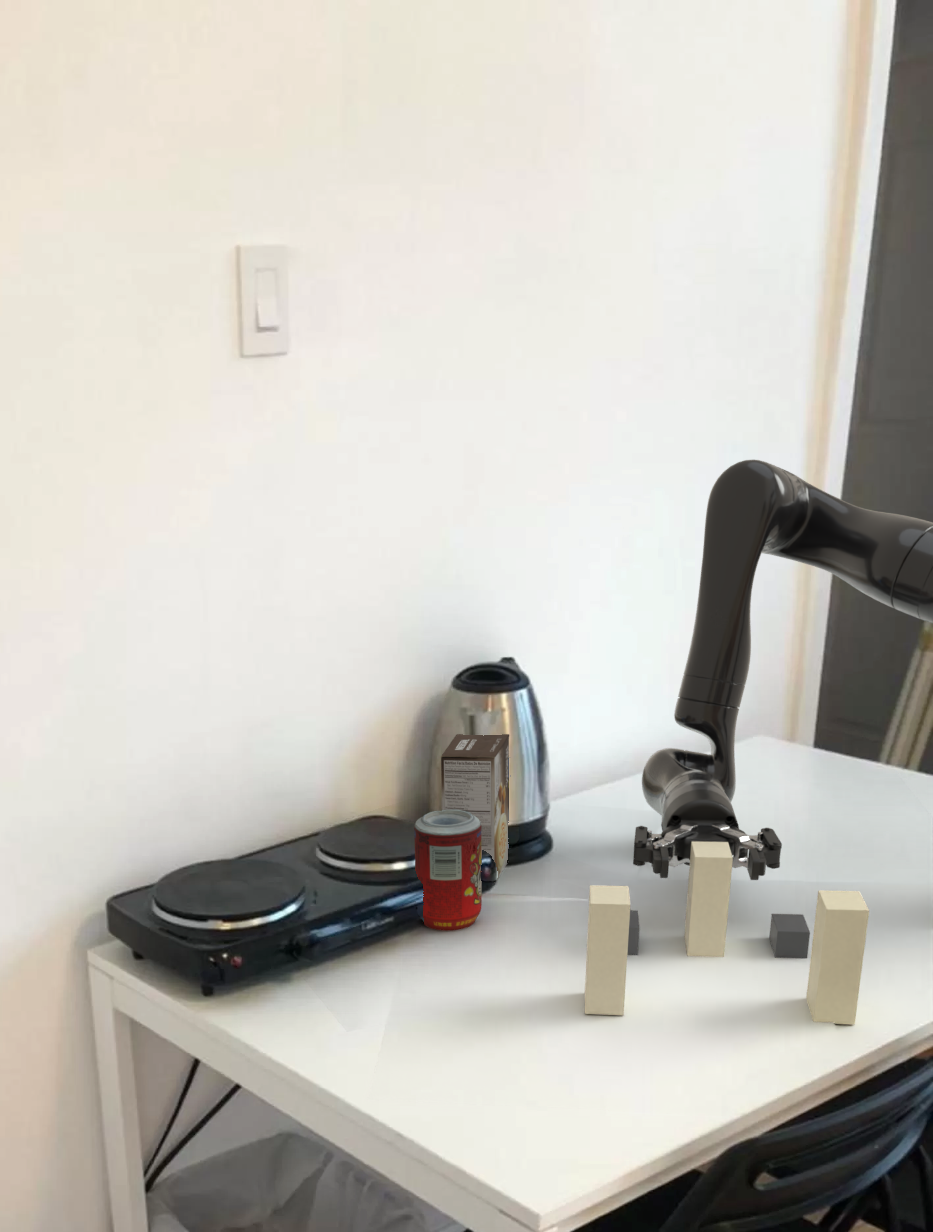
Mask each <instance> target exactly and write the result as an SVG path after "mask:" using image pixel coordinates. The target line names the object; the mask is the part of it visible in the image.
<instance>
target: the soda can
mask: <svg viewBox="0 0 933 1232" xmlns="http://www.w3.org/2000/svg"><path fill="white" fill-rule="evenodd" d="M481 830H482V826H481V822H480V820H479V819H478V818H477V817H475V816H474V815H472V814H471V813H470V812H466V811H461V810H456V809H450V810H442V809H441V810H433V811H430V812H428V813H425V814H424V815H423V816H421V817H419V818H418V819H417V820H416V821H415V823H414V826H413V833H414V834H413V835H414V872H415V871H416V874H417V877H418V879H419V880H420V881H421V883H422V884H423V889H424V890H423V891H424V892H423V894H424V895H423V896H424V897H423V902H424V903H423V904H424V905H423V918H424V924H423V925H424V926H425V927H427V928H428V929H432V930H435V931H442V932H443V931H444V932H450V931H452V932H453V931H461V930H463V929H464V930H465V929H467V928H469V927H471V926H473V925H474V924H475V922H476V920H477V918H478V917H479V915H480V914H481V911H482V905H483V904H482V903H483V902H482V881H481V872H482V871H481V865H482V860H481V859H482V848H481V843H482V834H481Z"/></svg>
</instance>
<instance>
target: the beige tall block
mask: <svg viewBox="0 0 933 1232" xmlns="http://www.w3.org/2000/svg"><path fill="white" fill-rule="evenodd" d="M815 908H816V909H815V915H814V916H815V917H814V925H813V934H812V943H811V951H810V959H809V960H810V961H809V970H808V980H807V988H806V996H805V999H806V1003H807V1005H808V1009H809V1012H810V1015H811V1019H812V1021H813V1023H833V1024H834V1025H853V1026H854V1025H855V1024H856V1020H857V1019H856V1017H857V1010H858V1004H859V1003H858V1001H859V994H860V987H861V986H860V985H861V979H862V970H863V962H864V954H865V946H866V940H867V933H868V932H867V931H868V925H869V917H870V916H869V915H870V909H869V907H868V905H867V903H866V901H865V899H864V897H863V895H862V893H861V891H860V890H822V889H821V890H820V889H819V890H818V891H817V899H816V906H815Z"/></svg>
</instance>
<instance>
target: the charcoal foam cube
mask: <svg viewBox="0 0 933 1232" xmlns="http://www.w3.org/2000/svg"><path fill="white" fill-rule="evenodd" d="M768 937H769V943H770V945H771V949H772V953H773V956H774V958H776V959H808V955H809V945H810V939H811V938H810V937H811V931H810V928H809V926H808V924H807V921H806V918H805V915H804V914H800V913H799V914H797V913H771V917H770V927H769V936H768Z"/></svg>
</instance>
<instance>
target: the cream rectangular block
mask: <svg viewBox="0 0 933 1232" xmlns="http://www.w3.org/2000/svg"><path fill="white" fill-rule="evenodd" d="M588 894H589V895H588V913H587V931H586V932H587V935H586V937H587V938H586V955H585V974H584V1014H585V1015H601V1016H602V1015H605V1016H625V1000H626V999H625V997H626V985H627V984H626V983H627V982H626V981H627V966H628V955H627V952H628V935H629V919H630V910H631V897H630V896H631V895H630V888H629V885H595V884H594V885H589V893H588Z"/></svg>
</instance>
